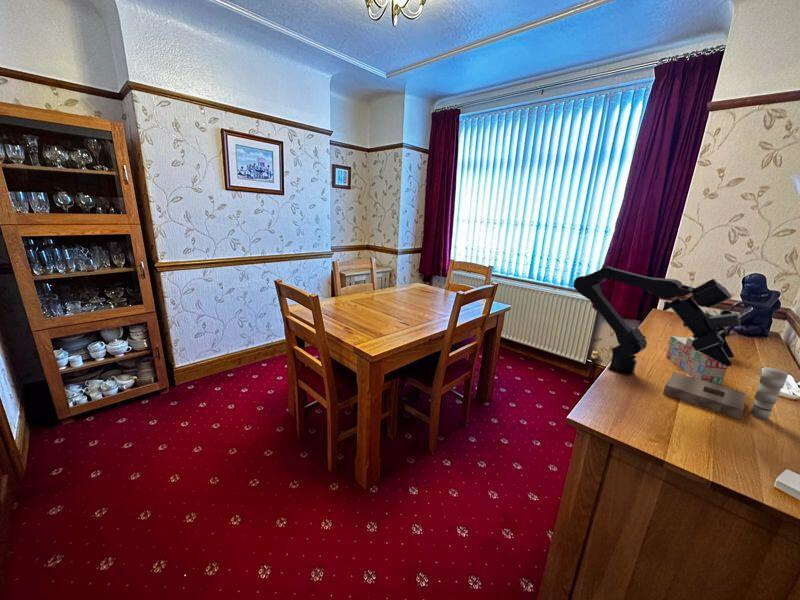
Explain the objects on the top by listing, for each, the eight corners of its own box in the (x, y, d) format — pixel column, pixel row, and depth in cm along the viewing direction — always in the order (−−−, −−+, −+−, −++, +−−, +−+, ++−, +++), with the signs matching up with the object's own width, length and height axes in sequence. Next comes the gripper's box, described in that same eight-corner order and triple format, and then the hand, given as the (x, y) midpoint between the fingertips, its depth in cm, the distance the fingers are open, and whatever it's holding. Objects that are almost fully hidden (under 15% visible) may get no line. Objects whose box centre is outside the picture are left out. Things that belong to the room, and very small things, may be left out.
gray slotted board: (662, 393, 101) (665, 384, 100) (671, 380, 110) (673, 372, 109) (740, 419, 89) (743, 410, 88) (742, 402, 98) (745, 393, 97)
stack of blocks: (665, 357, 129) (673, 328, 126) (683, 359, 128) (691, 330, 125) (700, 383, 109) (710, 349, 106) (721, 386, 108) (733, 352, 105)
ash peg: (747, 415, 91) (763, 370, 88) (748, 409, 94) (763, 365, 91) (770, 422, 88) (788, 376, 85) (770, 416, 91) (787, 371, 87)
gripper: (720, 306, 87) (766, 358, 82) (725, 297, 99) (766, 342, 94) (675, 326, 95) (715, 374, 90) (685, 315, 107) (721, 357, 102)
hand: (731, 361), depth 94 cm, fingers open, 9 cm apart
